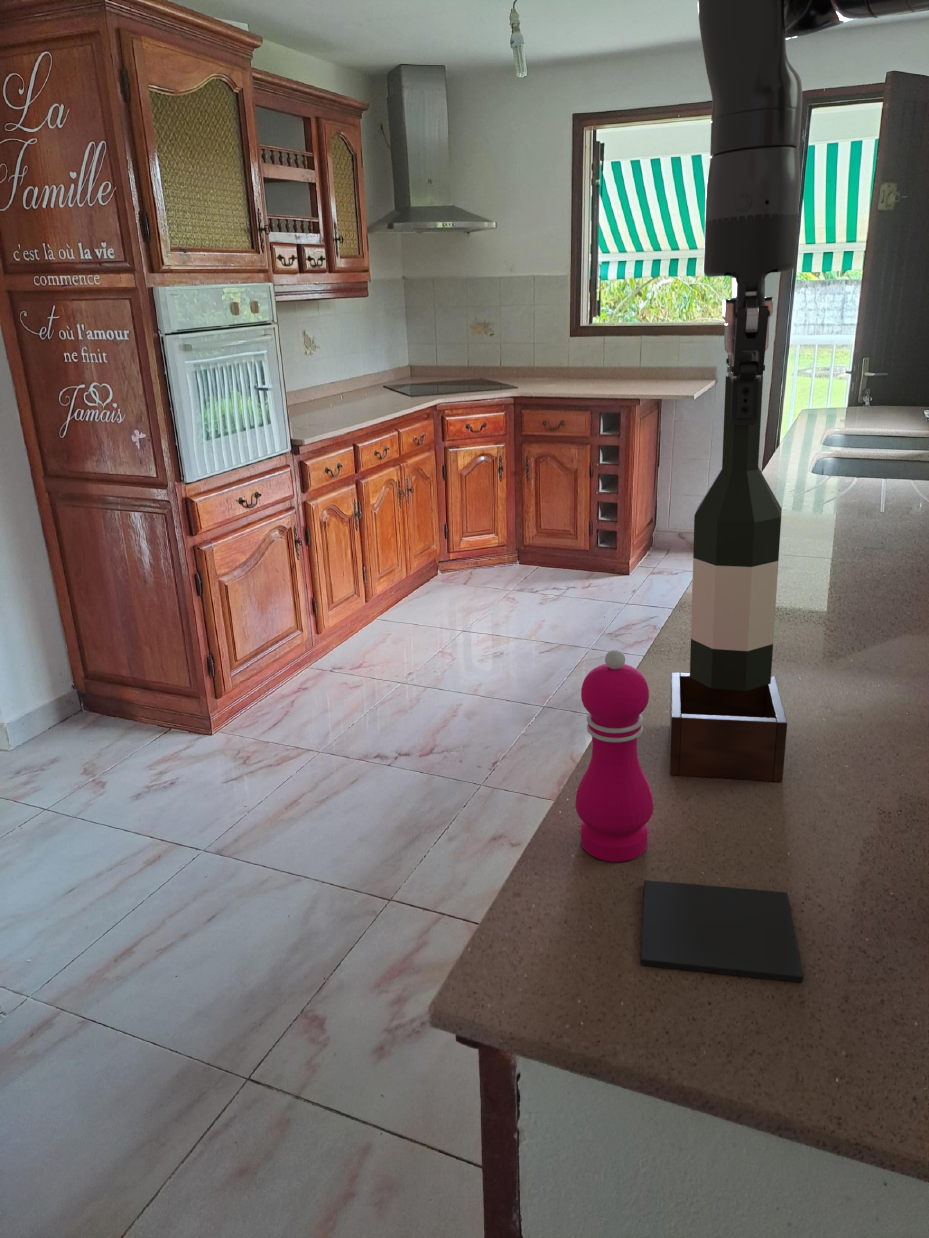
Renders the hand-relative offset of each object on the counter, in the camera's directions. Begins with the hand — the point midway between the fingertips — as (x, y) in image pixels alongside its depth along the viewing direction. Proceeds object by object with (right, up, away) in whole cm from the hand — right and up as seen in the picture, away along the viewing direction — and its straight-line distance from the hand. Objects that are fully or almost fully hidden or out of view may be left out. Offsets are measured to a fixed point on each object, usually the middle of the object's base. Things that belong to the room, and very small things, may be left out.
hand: (742, 420), depth 80 cm
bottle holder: (+4, -33, +19) cm, 38 cm away
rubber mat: (-4, -44, -8) cm, 44 cm away
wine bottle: (+2, -24, +9) cm, 25 cm away
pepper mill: (-11, -40, +5) cm, 41 cm away
